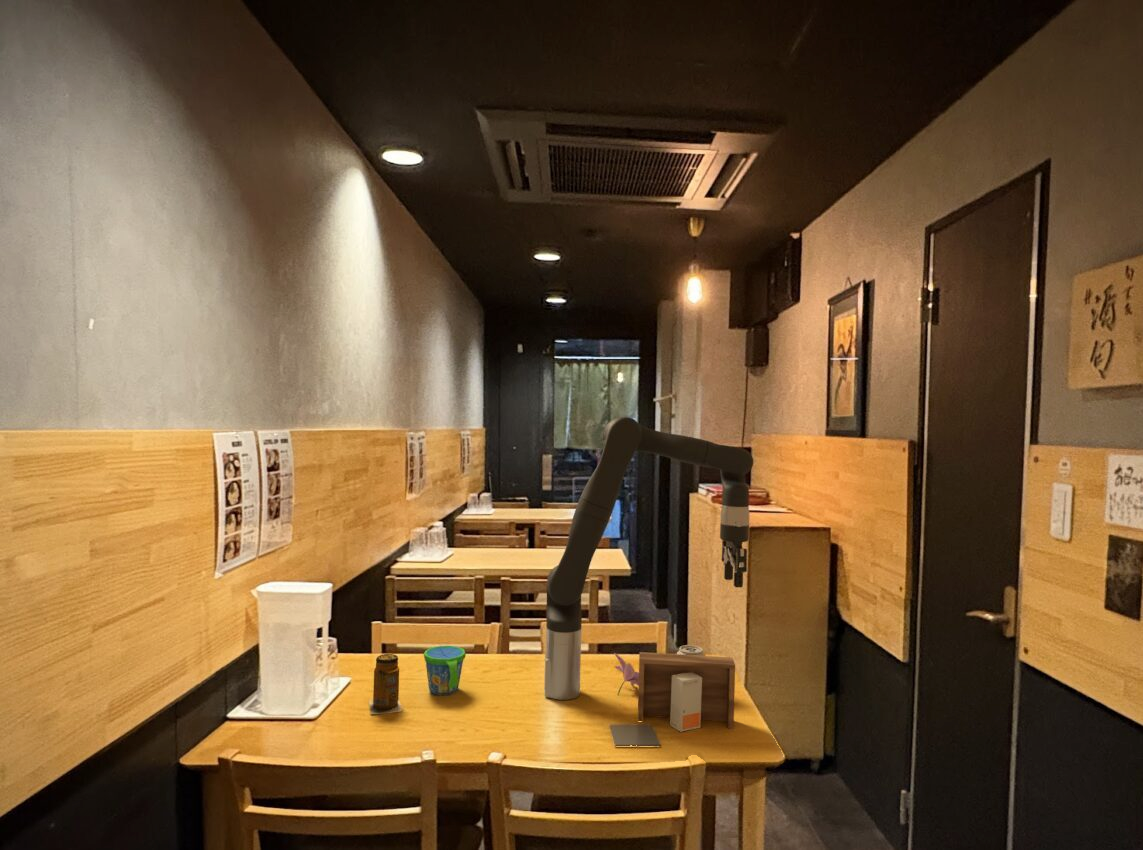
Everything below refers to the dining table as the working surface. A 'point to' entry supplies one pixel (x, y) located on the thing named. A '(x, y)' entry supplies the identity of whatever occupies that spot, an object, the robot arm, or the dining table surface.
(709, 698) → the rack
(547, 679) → the robot arm
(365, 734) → the dining table surface
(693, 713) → the skincare box
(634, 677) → the lily
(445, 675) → the snack cup
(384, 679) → the condiment
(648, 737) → the coaster
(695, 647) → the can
